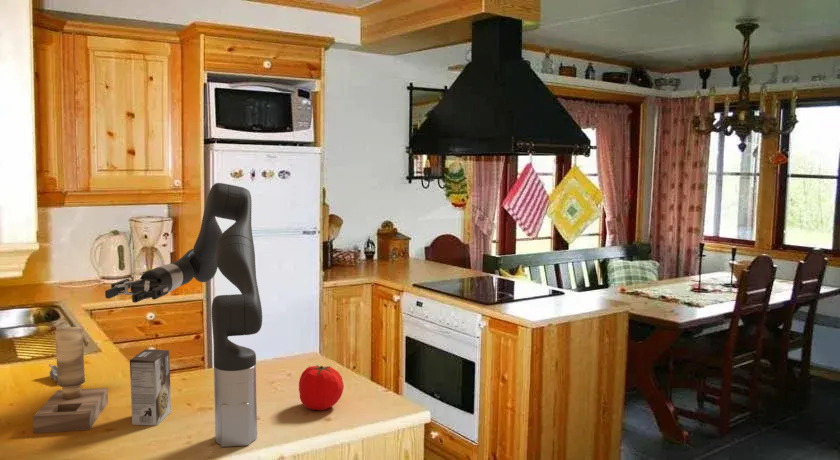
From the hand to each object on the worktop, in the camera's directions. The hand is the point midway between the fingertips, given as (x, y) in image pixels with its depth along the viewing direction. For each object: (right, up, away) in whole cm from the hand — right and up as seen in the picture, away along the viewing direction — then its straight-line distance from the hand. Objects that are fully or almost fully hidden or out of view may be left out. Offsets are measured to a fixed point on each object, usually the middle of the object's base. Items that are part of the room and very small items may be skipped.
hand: (119, 296), depth 179 cm
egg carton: (-24, -26, +22) cm, 42 cm away
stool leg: (-10, -24, -5) cm, 27 cm away
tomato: (+51, -29, +1) cm, 59 cm away
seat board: (-8, -29, -7) cm, 31 cm away
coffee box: (+11, -29, -8) cm, 32 cm away
